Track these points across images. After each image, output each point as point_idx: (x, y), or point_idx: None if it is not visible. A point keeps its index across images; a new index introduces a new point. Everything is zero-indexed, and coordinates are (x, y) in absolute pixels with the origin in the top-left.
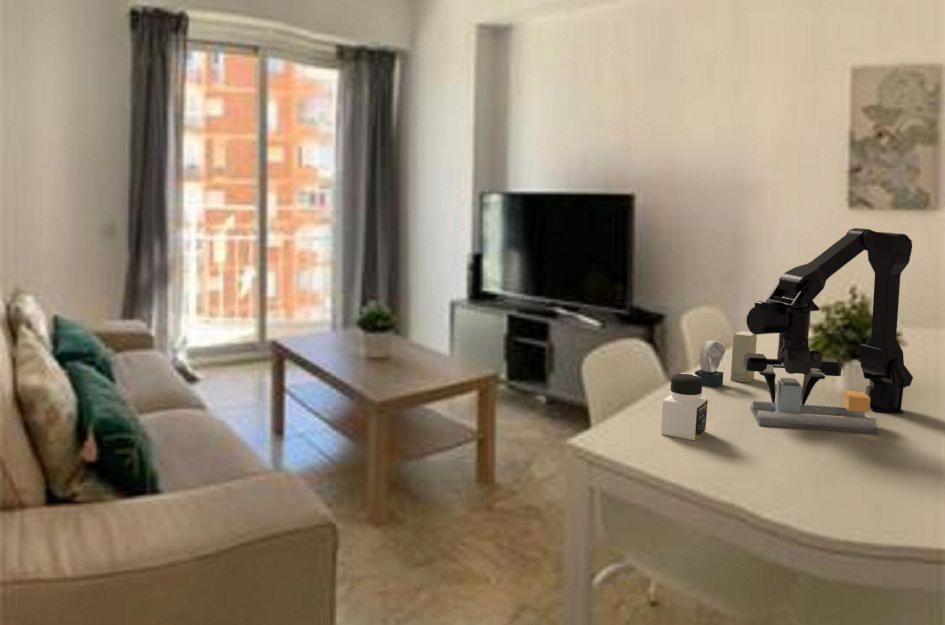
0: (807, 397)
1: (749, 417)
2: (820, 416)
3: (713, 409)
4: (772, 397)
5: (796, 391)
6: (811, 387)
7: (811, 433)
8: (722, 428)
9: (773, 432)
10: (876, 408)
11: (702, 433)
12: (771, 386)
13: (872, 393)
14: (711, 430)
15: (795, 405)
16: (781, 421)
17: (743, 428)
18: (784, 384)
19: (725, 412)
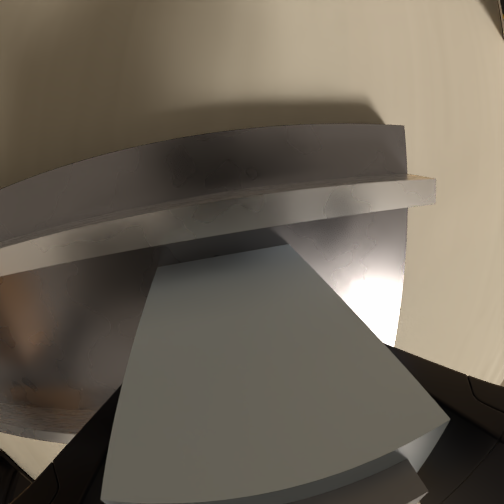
0: (90, 420)
1: (409, 262)
2: (19, 243)
3: (480, 306)
4: (393, 349)
5: (189, 424)
6: (35, 493)
7: (101, 75)
8: (484, 70)
9: (320, 23)
10: (2, 460)
11: (502, 14)
12: (479, 391)
13: (6, 496)
14: (497, 50)
15: (187, 307)
16: (283, 148)
17: (438, 72)
18: (411, 465)
19: (464, 291)
